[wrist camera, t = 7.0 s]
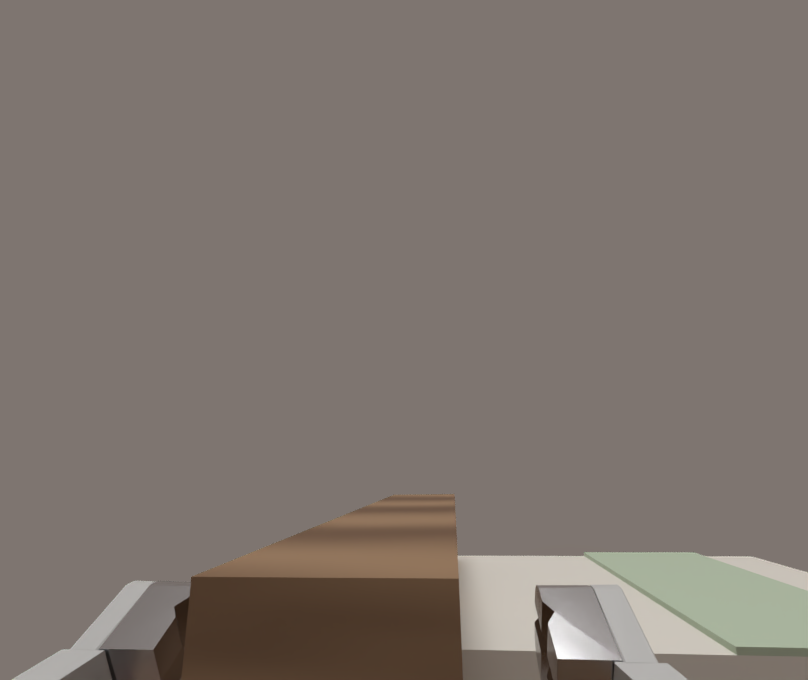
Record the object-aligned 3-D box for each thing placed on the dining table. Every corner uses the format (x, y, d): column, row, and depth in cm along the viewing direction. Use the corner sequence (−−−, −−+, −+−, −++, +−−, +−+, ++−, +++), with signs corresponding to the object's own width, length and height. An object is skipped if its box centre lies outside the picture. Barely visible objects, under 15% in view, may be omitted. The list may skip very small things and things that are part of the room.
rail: (474, 949, 5) (458, 578, 6) (156, 923, 5) (191, 577, 6) (457, 560, 26) (454, 494, 27) (394, 560, 26) (394, 494, 27)
